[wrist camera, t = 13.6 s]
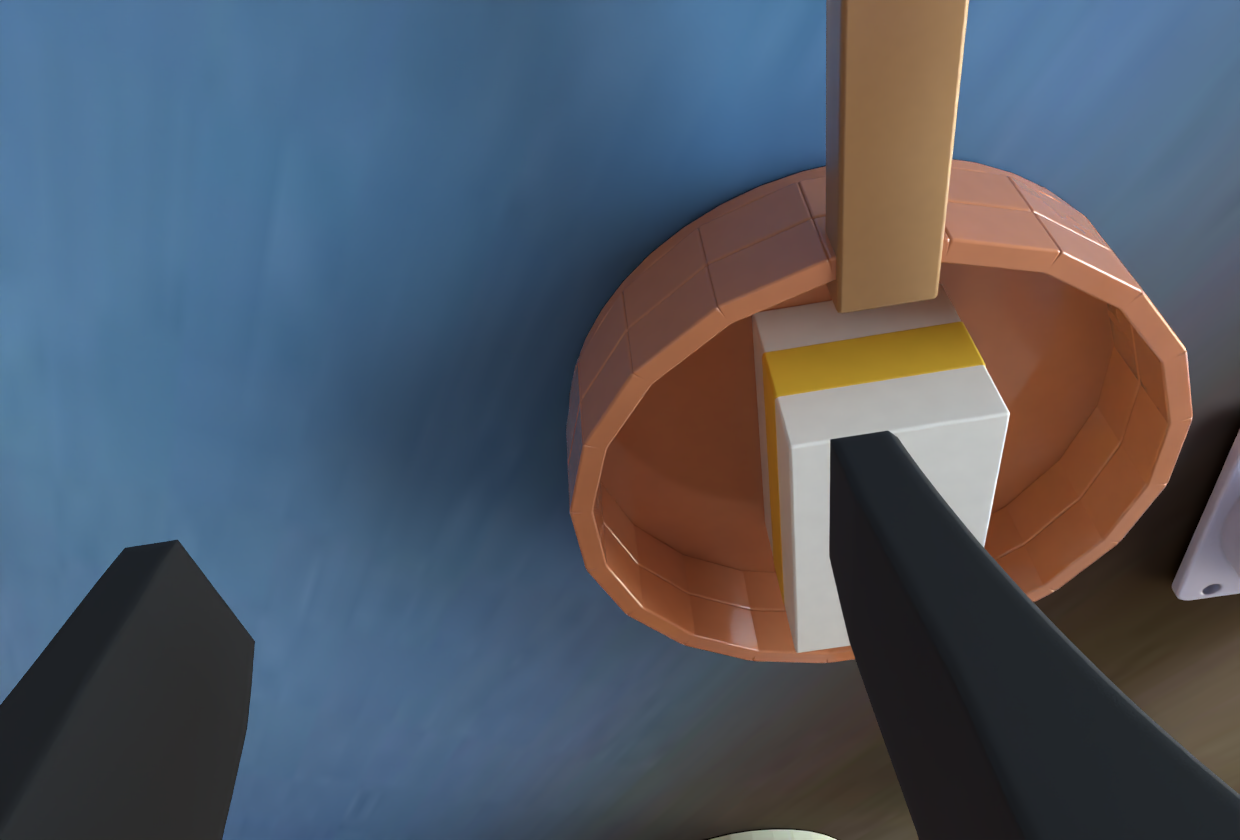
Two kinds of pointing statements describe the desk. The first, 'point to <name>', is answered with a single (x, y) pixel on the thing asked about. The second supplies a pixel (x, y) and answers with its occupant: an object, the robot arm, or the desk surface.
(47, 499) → the desk surface
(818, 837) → the reusable coffee cup
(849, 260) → the pan handle
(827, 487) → the tea packet
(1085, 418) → the pan
